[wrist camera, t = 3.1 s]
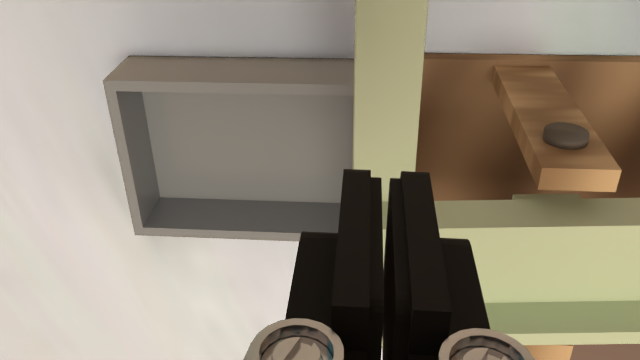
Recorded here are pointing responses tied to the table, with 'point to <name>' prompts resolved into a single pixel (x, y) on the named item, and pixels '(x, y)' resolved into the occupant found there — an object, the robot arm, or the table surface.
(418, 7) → the lever
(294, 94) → the dish
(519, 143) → the stand
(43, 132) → the table surface
